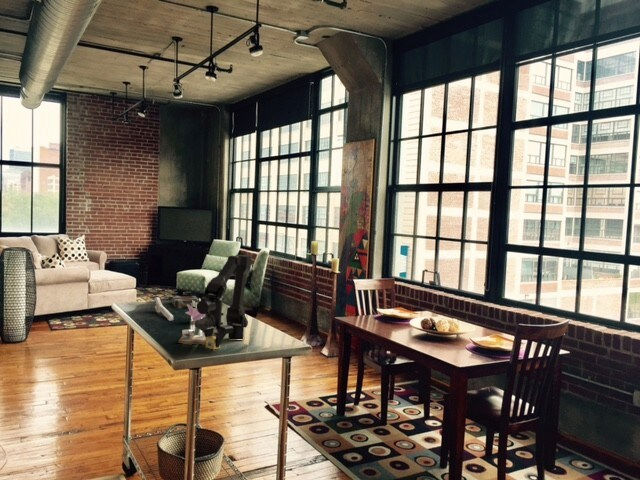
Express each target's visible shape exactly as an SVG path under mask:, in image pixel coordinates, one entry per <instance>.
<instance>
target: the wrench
mask: <svg viewBox="0 0 640 480" xmlns="http://www.w3.org/2000/svg"><path fill="white" fill-rule="evenodd" d="M154 302H156V304H155V306H154V308H155V311H156V313H162V314H163V316H164V317H165V318H166V319H167V320H168V321H170V322H172V321H174V315H173V314H172V313H171V312H170V311H169V310H168V309H167V308H166V307H164V305H163V303H162V301H161V298H160V297H159V296H157V297H154Z"/></svg>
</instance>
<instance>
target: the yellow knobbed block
mask: <svg viewBox="0 0 640 480" xmlns="http://www.w3.org/2000/svg"><path fill="white" fill-rule="evenodd" d="M206 347H207V348H210V349H218V348H220V349H221V345H220V346H219V347H218V348H216V336H208V337H206V345H205V348H206ZM207 348H206V349H207ZM210 349H209V350H210Z"/></svg>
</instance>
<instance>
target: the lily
mask: <svg viewBox="0 0 640 480" xmlns="http://www.w3.org/2000/svg"><path fill="white" fill-rule="evenodd" d="M187 306H188V308H187V309H188V311H185V314H187V315H188V316H191V317H192V318H191V319H190V322H189V324H192V321H193V322H196V321H197V320H200V319H202V318H204V317H205V314H200V313H199V312H198V311H197V308H193V307H191V306H190V305H188V304H187Z"/></svg>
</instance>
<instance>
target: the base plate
mask: <svg viewBox="0 0 640 480" xmlns="http://www.w3.org/2000/svg"><path fill="white" fill-rule="evenodd" d="M215 332H217V329H214V330H213V335H212V336H216V335H215V334H214V333H215ZM177 342H178V343H183V344H182V345H192V344H202V345H201V346H206V337H205V335H197V334H196V335H195V334H194V335H190V339H188V340H186V339H184V335H182V336H181V337H180V338H179V339H178V341H177ZM178 343H177V344H178Z"/></svg>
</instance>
